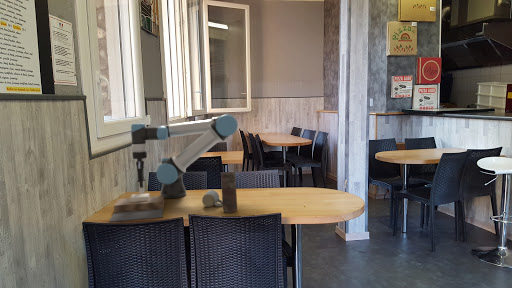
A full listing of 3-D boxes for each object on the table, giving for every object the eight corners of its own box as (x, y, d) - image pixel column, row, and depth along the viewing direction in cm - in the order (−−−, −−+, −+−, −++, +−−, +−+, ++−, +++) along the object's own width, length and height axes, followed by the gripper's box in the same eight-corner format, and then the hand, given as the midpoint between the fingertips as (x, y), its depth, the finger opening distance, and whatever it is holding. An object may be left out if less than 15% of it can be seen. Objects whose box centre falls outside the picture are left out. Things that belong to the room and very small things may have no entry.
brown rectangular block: (219, 211, 182) (217, 172, 180) (230, 208, 187) (229, 170, 185) (229, 214, 176) (227, 173, 174) (240, 211, 181) (239, 171, 180)
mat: (163, 209, 187) (163, 208, 187) (162, 217, 174) (162, 216, 174) (114, 213, 182) (114, 212, 182) (109, 222, 169) (109, 221, 169)
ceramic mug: (201, 207, 190) (201, 193, 189) (205, 203, 198) (205, 189, 197) (221, 208, 188) (220, 193, 187) (224, 204, 196) (224, 190, 196)
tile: (149, 197, 199) (149, 193, 199) (148, 200, 191) (148, 196, 191) (132, 198, 197) (132, 194, 197) (130, 202, 189) (130, 197, 189)
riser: (164, 202, 202) (163, 195, 202) (163, 209, 188) (162, 201, 188) (118, 206, 197) (118, 199, 196) (114, 213, 183) (113, 205, 183)
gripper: (133, 150, 207) (136, 190, 209) (131, 152, 194) (133, 196, 197) (147, 149, 208) (149, 189, 211) (145, 152, 196) (147, 194, 198)
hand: (141, 192), depth 204 cm, fingers closed
